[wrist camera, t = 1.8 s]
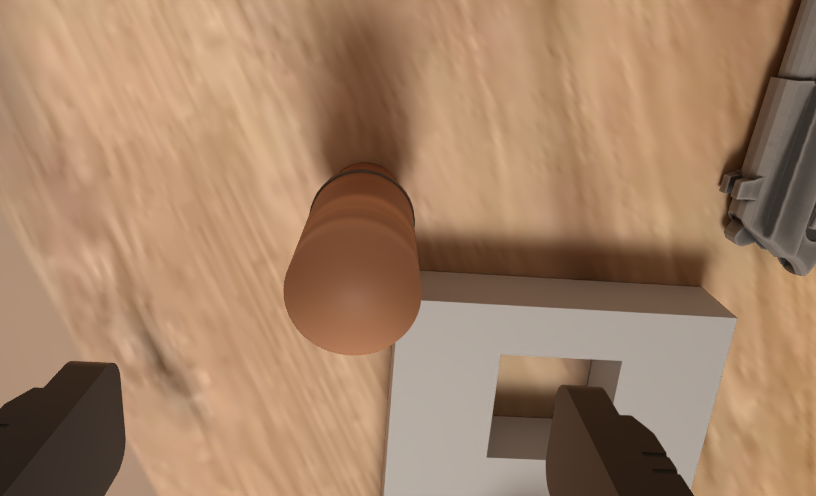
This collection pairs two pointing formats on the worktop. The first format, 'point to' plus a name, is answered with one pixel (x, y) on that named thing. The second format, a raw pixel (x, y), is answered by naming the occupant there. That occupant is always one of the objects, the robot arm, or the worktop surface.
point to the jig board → (543, 337)
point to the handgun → (782, 160)
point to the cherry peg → (356, 264)
